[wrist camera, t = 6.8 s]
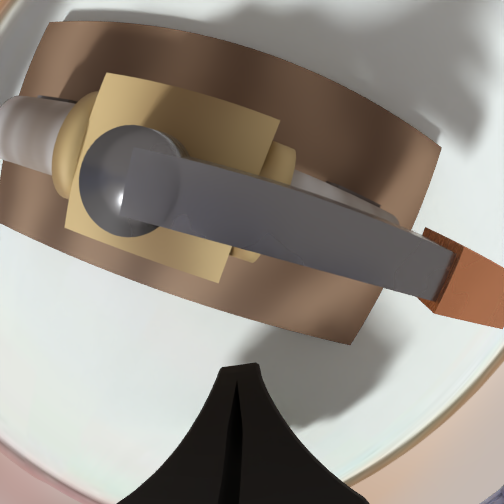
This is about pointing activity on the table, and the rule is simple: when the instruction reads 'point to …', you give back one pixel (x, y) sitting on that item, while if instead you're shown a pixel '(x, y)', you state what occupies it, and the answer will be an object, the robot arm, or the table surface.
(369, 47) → the table surface
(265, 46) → the table surface
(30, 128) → the ball valve
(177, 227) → the valve lever
